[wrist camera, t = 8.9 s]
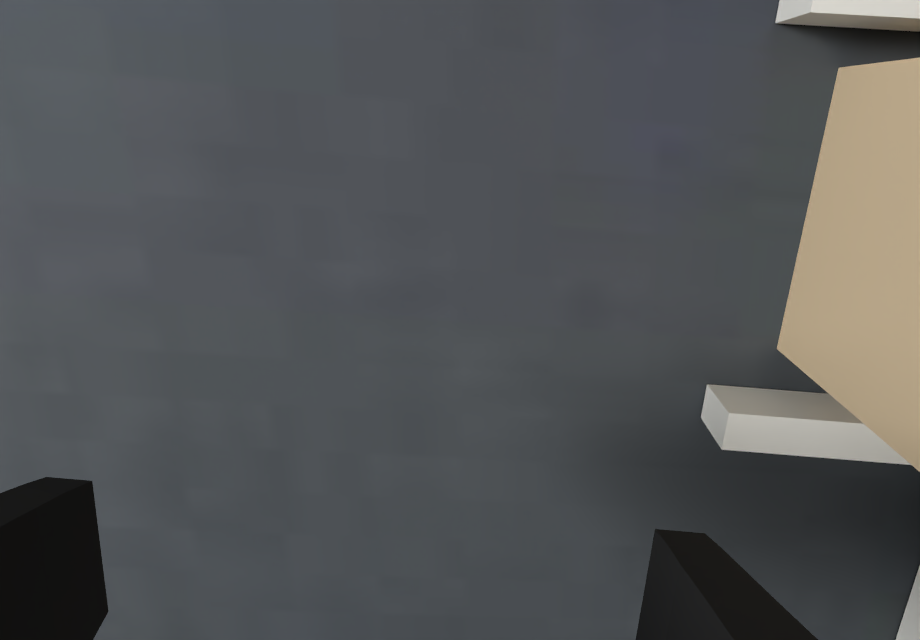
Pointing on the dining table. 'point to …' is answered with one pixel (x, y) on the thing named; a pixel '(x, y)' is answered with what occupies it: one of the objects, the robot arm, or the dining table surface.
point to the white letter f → (806, 413)
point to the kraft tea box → (864, 256)
